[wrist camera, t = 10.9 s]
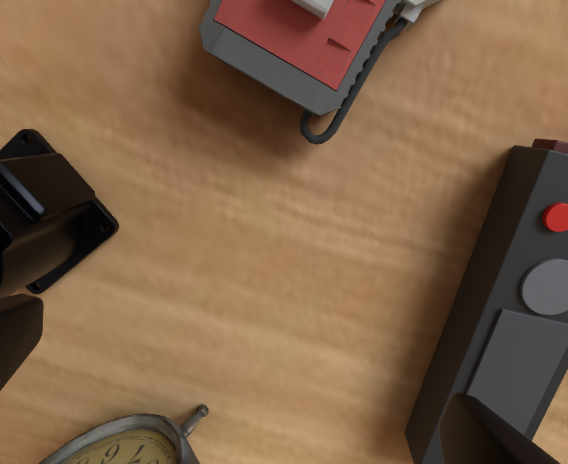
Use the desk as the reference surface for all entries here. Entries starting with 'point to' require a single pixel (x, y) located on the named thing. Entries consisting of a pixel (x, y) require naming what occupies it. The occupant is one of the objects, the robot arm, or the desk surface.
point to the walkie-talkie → (306, 47)
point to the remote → (507, 306)
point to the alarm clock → (132, 442)
